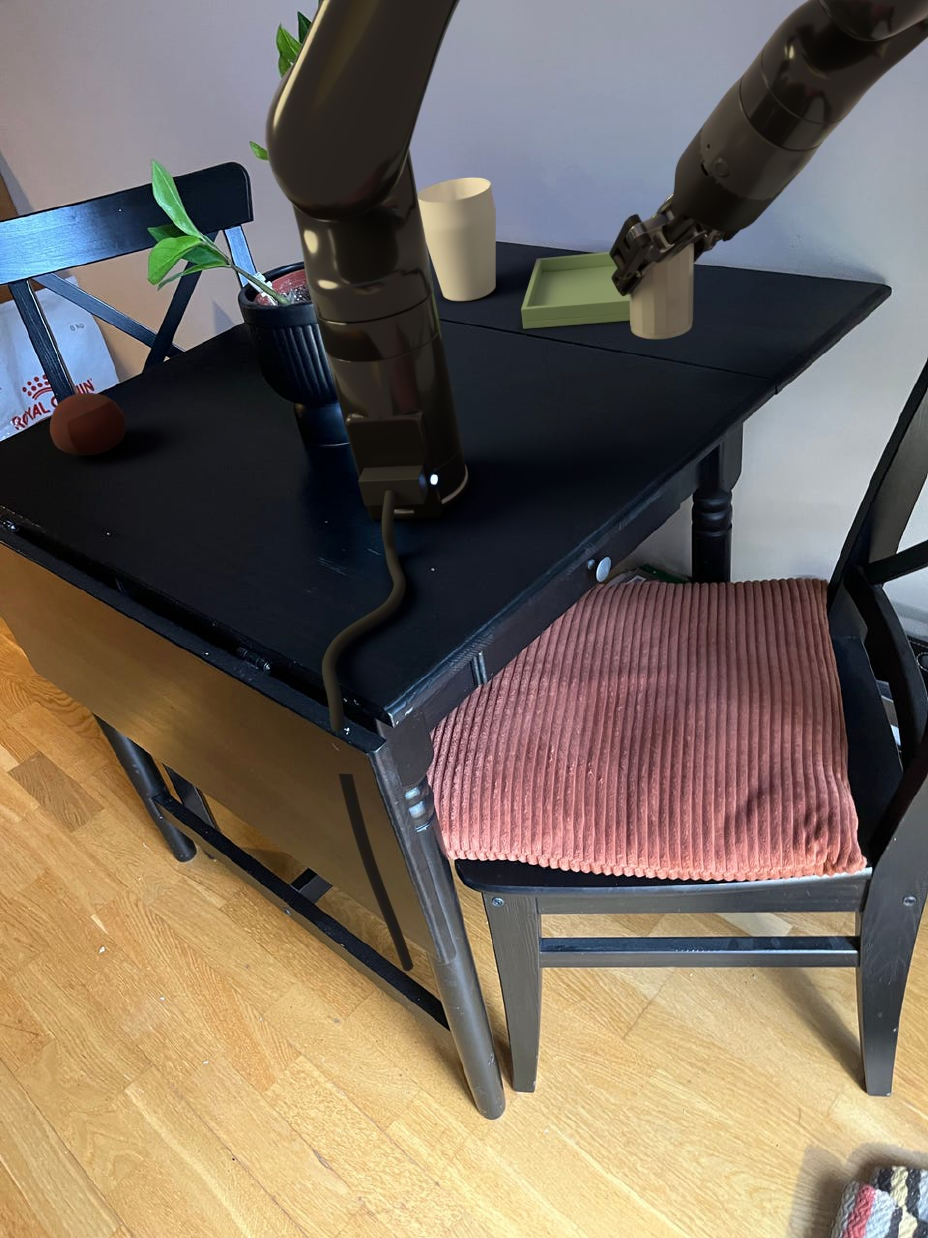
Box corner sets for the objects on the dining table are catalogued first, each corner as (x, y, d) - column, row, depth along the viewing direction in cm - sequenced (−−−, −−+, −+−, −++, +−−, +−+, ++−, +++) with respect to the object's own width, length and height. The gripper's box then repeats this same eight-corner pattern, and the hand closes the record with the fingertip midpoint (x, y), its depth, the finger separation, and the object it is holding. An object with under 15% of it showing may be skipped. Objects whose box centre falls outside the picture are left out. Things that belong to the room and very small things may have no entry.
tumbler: (692, 337, 81) (694, 244, 76) (629, 341, 82) (626, 250, 77) (692, 311, 85) (693, 222, 80) (631, 316, 86) (629, 228, 81)
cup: (495, 304, 110) (481, 199, 102) (424, 307, 112) (405, 205, 105) (512, 274, 116) (500, 173, 108) (444, 278, 119) (428, 180, 111)
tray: (642, 319, 100) (642, 298, 99) (523, 328, 103) (521, 308, 102) (646, 267, 111) (646, 248, 110) (538, 277, 114) (536, 258, 113)
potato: (76, 478, 92) (49, 425, 88) (53, 451, 98) (28, 400, 94) (144, 449, 95) (121, 396, 91) (118, 424, 101) (96, 373, 97)
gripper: (800, 80, 68) (691, 216, 84) (645, 129, 64) (561, 263, 80) (848, 167, 68) (729, 287, 84) (695, 223, 64) (601, 338, 80)
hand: (648, 275), depth 82 cm, fingers closed on tumbler, 5 cm apart
